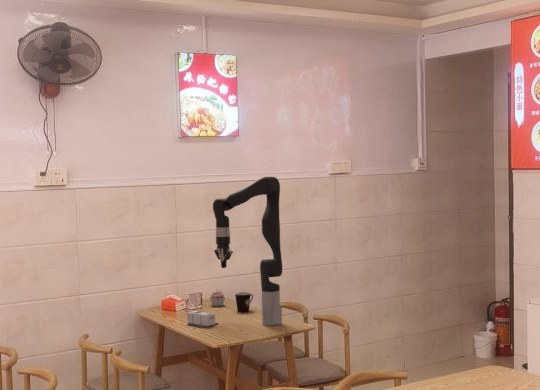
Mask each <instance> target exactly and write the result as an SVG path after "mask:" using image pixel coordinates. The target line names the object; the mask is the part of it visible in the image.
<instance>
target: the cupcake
mask: <svg viewBox="0 0 540 390" xmlns="http://www.w3.org/2000/svg"><path fill="white" fill-rule="evenodd" d="M209 299H210V302H211V306H212V307H215V308H218V307H219V308H221V307H223V306H224V302H225V300H226V297H225V295H224V293H223V292H222V291H221V290H220V289H218V288H216V290H214V291H213V292H212V293H211V295H210V297H209Z"/></svg>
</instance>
